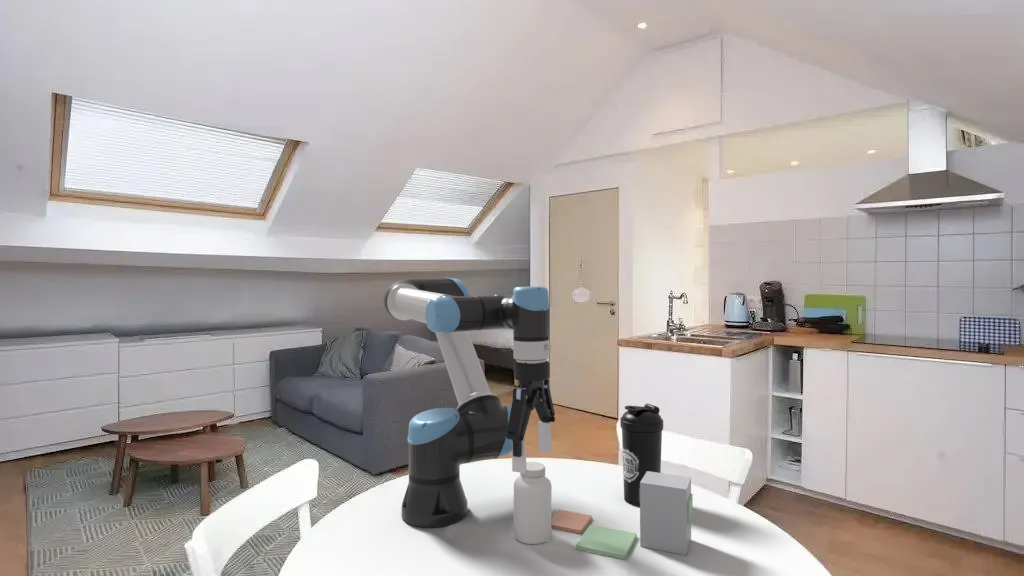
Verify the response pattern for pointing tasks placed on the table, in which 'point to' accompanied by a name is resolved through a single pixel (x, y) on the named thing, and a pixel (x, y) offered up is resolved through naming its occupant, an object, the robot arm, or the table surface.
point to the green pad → (606, 541)
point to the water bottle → (640, 447)
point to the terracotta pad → (570, 521)
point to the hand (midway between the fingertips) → (532, 461)
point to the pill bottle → (532, 505)
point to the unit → (665, 512)
